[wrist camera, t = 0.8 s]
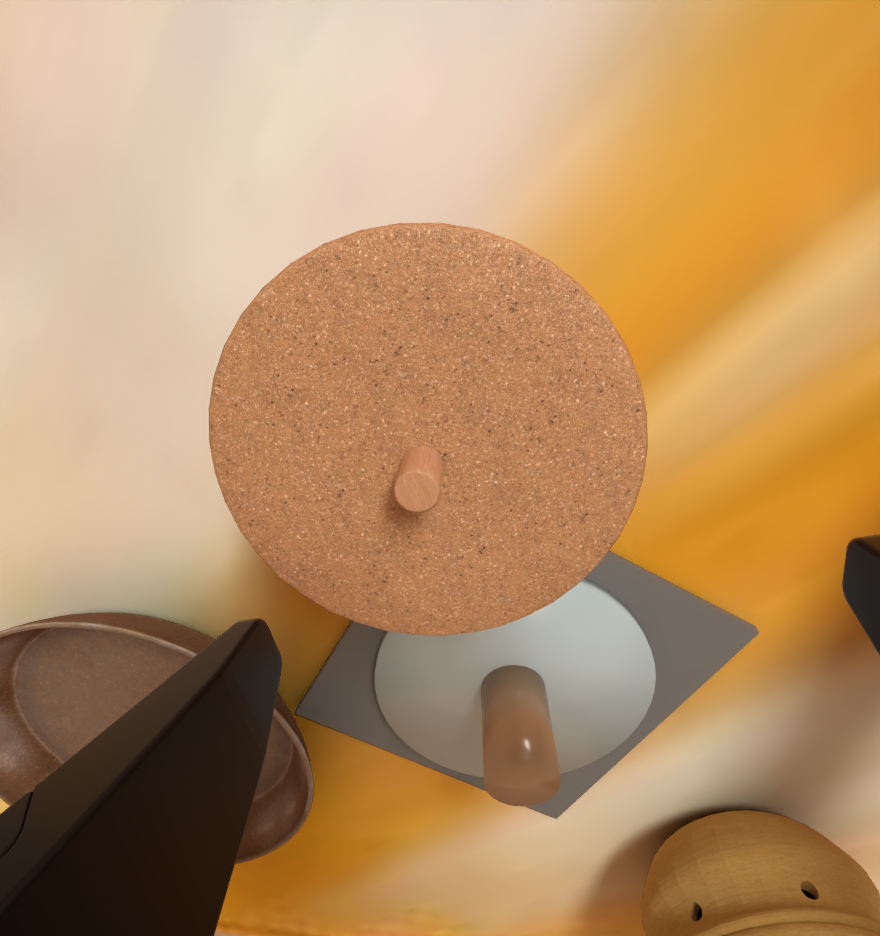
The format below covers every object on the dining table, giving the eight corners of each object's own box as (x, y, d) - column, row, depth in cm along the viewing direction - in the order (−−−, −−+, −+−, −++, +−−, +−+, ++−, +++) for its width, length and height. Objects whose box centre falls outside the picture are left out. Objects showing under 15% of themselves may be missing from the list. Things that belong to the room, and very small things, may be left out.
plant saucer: (227, 854, 35) (205, 911, 32) (-52, 718, 31) (-104, 769, 28) (396, 708, 28) (386, 764, 25) (66, 507, 24) (12, 548, 21)
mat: (754, 626, 25) (759, 632, 25) (555, 811, 32) (556, 818, 31) (448, 467, 22) (448, 472, 22) (297, 707, 29) (295, 713, 28)
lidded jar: (374, 544, 24) (316, 726, 15) (245, 302, 20) (69, 357, 11) (624, 458, 21) (724, 611, 13) (530, 168, 18) (582, 108, 9)
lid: (709, 640, 25) (768, 746, 20) (549, 795, 30) (564, 908, 26) (462, 516, 23) (461, 601, 18) (333, 707, 28) (306, 813, 23)
